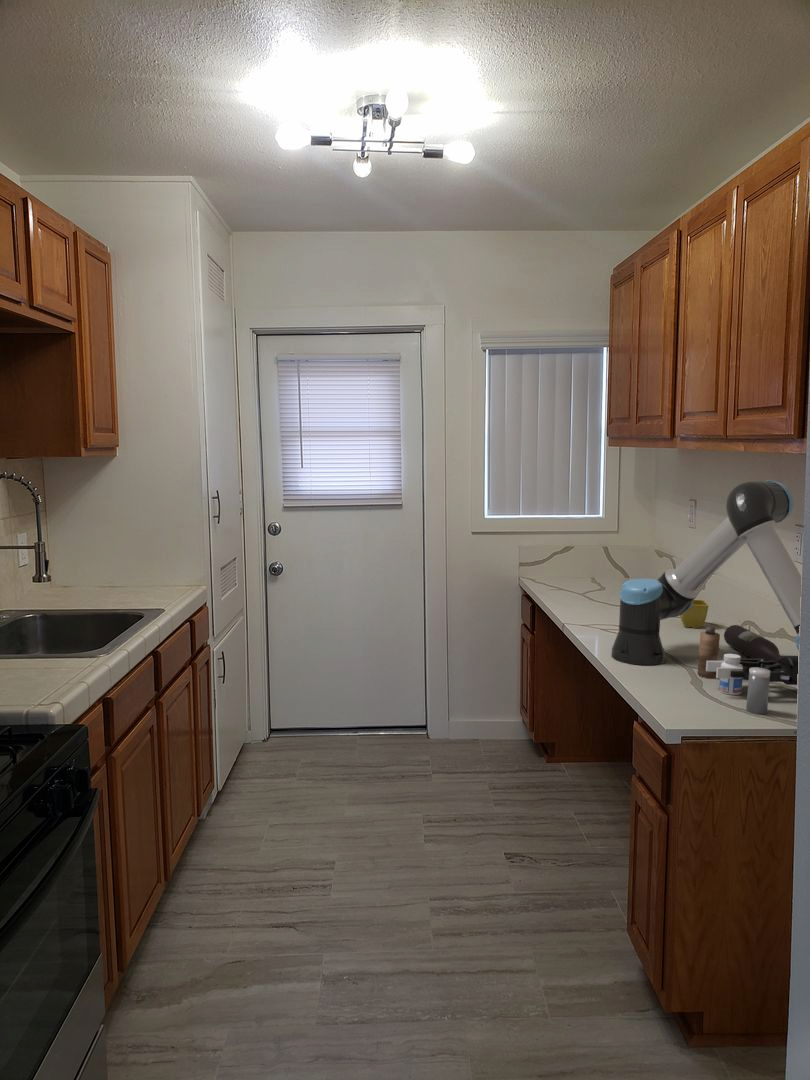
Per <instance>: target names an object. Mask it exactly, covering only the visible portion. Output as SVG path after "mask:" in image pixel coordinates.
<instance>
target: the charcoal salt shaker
mask: <svg viewBox="0 0 810 1080" xmlns="http://www.w3.org/2000/svg"><path fill="white" fill-rule="evenodd" d="M770 683H771V682H770V670H768V669H764V668H758V667H752V668H750V669H749V680H747V696H746V707H745V708H746V711H747V712H749V713H751V714H755V715H766V714H767V713H768V704H769V695H770V694H769V691H770Z"/></svg>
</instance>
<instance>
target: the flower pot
mask: <svg viewBox="0 0 810 1080" xmlns="http://www.w3.org/2000/svg"><path fill="white" fill-rule="evenodd" d="M708 610H709V604H708V603H707V602H706V600H704V599H703V600H702V599H694V600H693V603H692V605H691V607H690V608H689V610H688V611H686V612H685V613H683V614H682V615H679V617H680V620H681V622H682V624H683V626H684V627H685V628H686V627H688V628H689V627H692V628H693V629H701V628H702V627H703V625H704V623H705V622H706V619H707V615H708Z"/></svg>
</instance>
